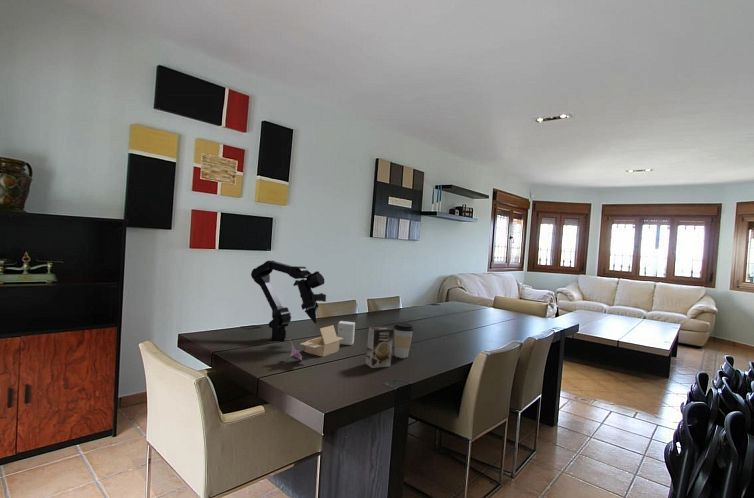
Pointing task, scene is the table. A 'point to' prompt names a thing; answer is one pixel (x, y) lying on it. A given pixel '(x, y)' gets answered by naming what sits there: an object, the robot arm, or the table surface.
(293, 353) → the lily
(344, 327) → the small box
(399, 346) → the coffee cup
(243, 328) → the table surface
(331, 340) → the flap
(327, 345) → the carton
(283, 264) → the robot arm
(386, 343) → the coffee box
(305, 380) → the table surface
